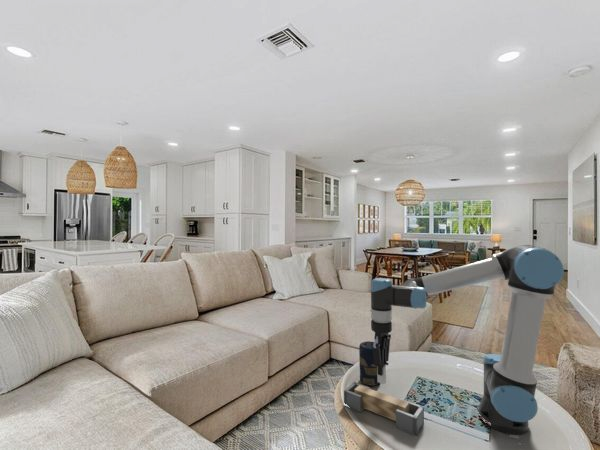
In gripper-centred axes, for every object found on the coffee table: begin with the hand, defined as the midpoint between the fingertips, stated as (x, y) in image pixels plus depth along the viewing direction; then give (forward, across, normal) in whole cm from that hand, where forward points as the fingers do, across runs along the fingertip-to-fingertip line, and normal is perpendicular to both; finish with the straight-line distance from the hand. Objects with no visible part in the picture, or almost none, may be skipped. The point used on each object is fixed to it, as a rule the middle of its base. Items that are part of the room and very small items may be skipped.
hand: (381, 382), depth 116 cm
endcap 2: (+12, 0, +11) cm, 16 cm away
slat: (+11, 0, 0) cm, 11 cm away
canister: (+12, -19, -14) cm, 27 cm away
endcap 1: (+12, 0, -10) cm, 16 cm away
